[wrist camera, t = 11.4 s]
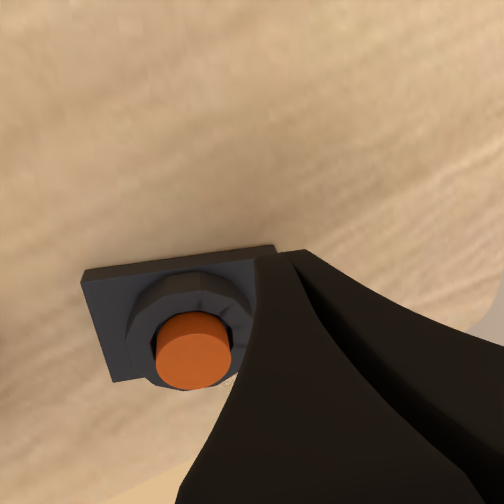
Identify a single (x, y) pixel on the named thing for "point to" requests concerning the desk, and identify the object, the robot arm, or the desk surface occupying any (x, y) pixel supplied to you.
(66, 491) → the desk surface
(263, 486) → the robot arm
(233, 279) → the control block
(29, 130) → the desk surface
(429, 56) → the desk surface
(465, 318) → the desk surface
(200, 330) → the button
